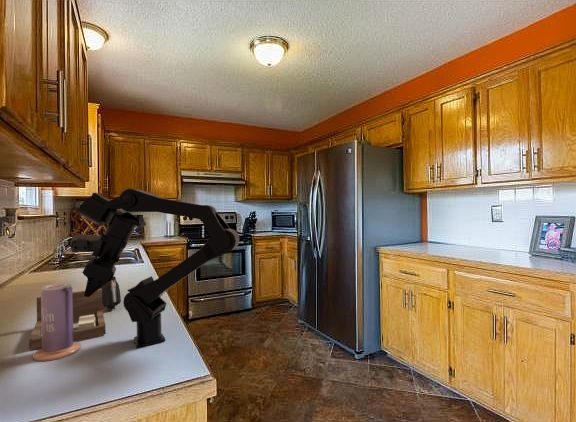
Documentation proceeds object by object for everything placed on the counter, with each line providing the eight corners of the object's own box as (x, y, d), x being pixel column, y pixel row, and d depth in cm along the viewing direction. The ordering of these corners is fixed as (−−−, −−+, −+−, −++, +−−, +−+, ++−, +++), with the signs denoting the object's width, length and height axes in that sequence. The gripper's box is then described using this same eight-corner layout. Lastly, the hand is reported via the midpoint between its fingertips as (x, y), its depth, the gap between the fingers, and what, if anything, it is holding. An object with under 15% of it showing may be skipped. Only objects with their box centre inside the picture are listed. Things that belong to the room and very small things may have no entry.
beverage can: (79, 344, 76) (78, 282, 76) (60, 355, 70) (59, 288, 70) (56, 344, 76) (54, 283, 77) (35, 355, 71) (33, 289, 71)
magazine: (90, 272, 127) (106, 258, 106) (99, 271, 130) (117, 257, 108) (93, 315, 124) (111, 309, 102) (103, 313, 126) (121, 306, 105)
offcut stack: (95, 335, 84) (95, 322, 84) (78, 339, 82) (77, 325, 82) (95, 324, 92) (95, 312, 92) (79, 327, 90) (79, 315, 90)
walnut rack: (105, 335, 83) (105, 301, 83) (28, 351, 74) (27, 313, 74) (102, 316, 98) (101, 288, 98) (37, 328, 90) (37, 297, 90)
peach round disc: (80, 353, 72) (80, 351, 72) (30, 365, 67) (30, 362, 67) (81, 341, 80) (81, 338, 80) (36, 350, 75) (36, 347, 75)
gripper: (91, 212, 84) (65, 263, 84) (73, 232, 67) (41, 295, 68) (133, 228, 89) (108, 276, 89) (126, 251, 72) (96, 309, 72)
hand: (90, 287), depth 79 cm, fingers open, 9 cm apart
